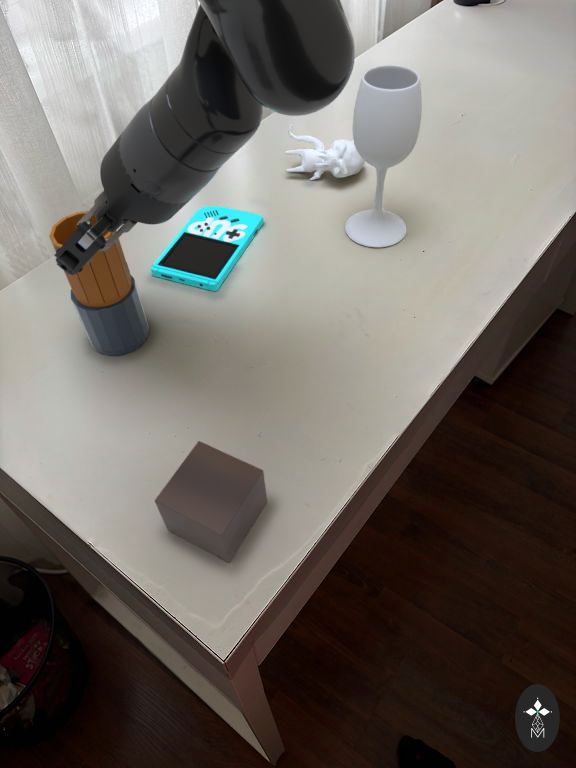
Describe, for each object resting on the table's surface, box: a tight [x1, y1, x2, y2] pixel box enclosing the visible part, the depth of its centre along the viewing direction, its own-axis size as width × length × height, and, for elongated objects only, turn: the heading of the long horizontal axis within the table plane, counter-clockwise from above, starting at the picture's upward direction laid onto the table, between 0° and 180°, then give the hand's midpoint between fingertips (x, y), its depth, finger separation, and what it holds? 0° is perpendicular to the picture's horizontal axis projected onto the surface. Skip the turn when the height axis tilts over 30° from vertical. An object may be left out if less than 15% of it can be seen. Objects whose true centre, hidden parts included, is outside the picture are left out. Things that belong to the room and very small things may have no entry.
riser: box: [154, 440, 268, 564], centre depth 55 cm, size 7×7×6 cm
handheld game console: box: [150, 205, 264, 292], centre depth 82 cm, size 10×16×1 cm, turn 158°
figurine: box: [284, 123, 366, 181], centre depth 91 cm, size 8×9×12 cm
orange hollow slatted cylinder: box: [48, 210, 132, 308], centre depth 64 cm, size 6×6×8 cm
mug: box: [70, 261, 150, 357], centre depth 71 cm, size 10×7×8 cm
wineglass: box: [344, 64, 423, 248], centre depth 76 cm, size 9×9×21 cm
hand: (90, 241), depth 61 cm, fingers open, 8 cm apart
